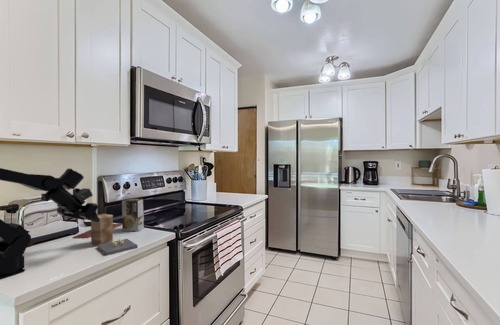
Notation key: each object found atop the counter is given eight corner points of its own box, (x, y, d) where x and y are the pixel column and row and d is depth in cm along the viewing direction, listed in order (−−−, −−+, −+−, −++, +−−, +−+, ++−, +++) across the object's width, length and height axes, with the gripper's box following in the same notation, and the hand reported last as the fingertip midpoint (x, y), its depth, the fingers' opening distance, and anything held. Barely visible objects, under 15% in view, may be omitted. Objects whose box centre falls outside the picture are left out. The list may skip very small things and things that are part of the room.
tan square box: (100, 245, 109) (100, 218, 109) (90, 243, 112) (90, 216, 111) (113, 241, 115) (113, 215, 115) (103, 239, 117) (103, 213, 117)
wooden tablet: (107, 224, 146) (107, 222, 146) (123, 225, 145) (123, 222, 145) (68, 239, 120) (68, 235, 120) (87, 240, 118) (87, 236, 118)
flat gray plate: (106, 255, 98) (106, 247, 98) (97, 247, 107) (97, 240, 107) (137, 247, 107) (137, 240, 107) (126, 241, 115) (126, 234, 115)
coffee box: (144, 228, 137) (144, 198, 137) (138, 231, 131) (137, 200, 131) (128, 227, 138) (128, 198, 138) (121, 230, 132) (121, 200, 132)
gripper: (93, 183, 100) (118, 206, 110) (64, 181, 107) (90, 203, 117) (73, 207, 93) (101, 228, 103) (43, 203, 100) (72, 223, 110)
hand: (91, 220), depth 109 cm, fingers open, 9 cm apart
